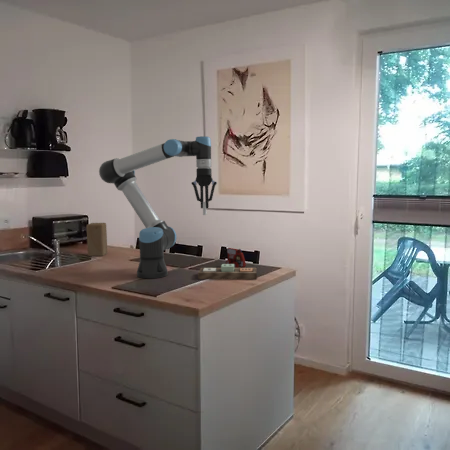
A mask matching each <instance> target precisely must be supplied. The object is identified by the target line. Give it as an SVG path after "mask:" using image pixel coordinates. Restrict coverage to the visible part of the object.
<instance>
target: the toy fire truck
mask: <svg viewBox="0 0 450 450" xmlns="http://www.w3.org/2000/svg"><path fill="white" fill-rule="evenodd" d="M226 252H227V260H226V261H225V263H224V264H234V268H246V266H247V264H246V263H247V262H246V259H245V255H244V253H243V252H242V249H241V248H239V249H237V248H234V247H233V248H232V247H228V248H227V249H226Z"/></svg>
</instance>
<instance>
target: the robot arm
mask: <svg viewBox="0 0 450 450" xmlns="http://www.w3.org/2000/svg"><path fill="white" fill-rule="evenodd" d="M174 157H179V158H183V157H196V159H195V160H196V161H195V162H196V165H195V166H196V169H195V170H196V171H195V172H196V178H195V180H194V181H192V182H191V185H192V187H193V190H194V194H195V198H196V200H197V201H198V202H200V209H202V215H203V216H207V215H208V214H207V213H208V212H207V209H209V206H210V205H209V204H210V203H209V202H211V201H212V200H213V197H214V192H215V188H216V186H217V184H218V182H217V181H215V180H213V177H212V173H213V172H212V168H211V167H212V139H211V137H209V136H196V137H195V140H189V141H187V140H185V141H184V140H179V139H174V138H171V139H167V140H166V141H165V142H164V143H161V144H158V145H155V146H153V147H150V148H147V149H144V150H142V151H139V152H136V153H135V152H134V153H133V154H130V155H127V156H124V157H121V158H117V157H116V158H113V159H109V160H106V161H104V162H103V163H102V164H100V167H99V168H98V169H99V170H98V173H99V177H100V178H101V180H102V181H103V182H105V183H107V184H113V185H114V186H115V188H116V189H117V191H121V192H122V194H123V195H124V196H125V198H126V199H127V201H128V202H129V204H130V205H131V207H132V209H133V210H134V211H135V213H136V215H137V217H138V219H139V220H140V221H141V222H142V225H144V227H145V228H142V229H141V230H140V231H139V232H138V233H139V236H138V241H139V243H138V244H139V263H138V267H137V271H136V276H137V277H138V278H139V279H140V278H141V279H157V278H163V277H166V276H168V275H169V273H168V272H169V271H168V267H167V265H166V261H165V259H164V258H165V257H164V251H167V250H169V249H170V248H172V247H174V245H175V244H176V241H177V233H176V231H175V229H174V228H173V227H171V226H169V225H168V224H167V223H166V221H165V220H163V219H160V217H159V216H158V214H157V213H156V211H155V210H154V208H153V206H152V205H151V204H150V202H149V201H148V198H147V197H146V195H145V194H144V193H143V191H142V190H141V188H140V186H139V185H138V183H137V177H136V170H139V169H140V170H141V169H142V168H145V167H148V166H150V165H154V164H156V163H158V162H159V163H160V162H162V161H165V160H168V159H171V158H174ZM197 185H198V186H199V190H198V188H197ZM210 185H212V186H211V189H210V190H211V191H210V193H209V186H210ZM204 187H205V188H204ZM204 189H205V190H204ZM199 191H200V192H199ZM204 192H205V193H204ZM199 194H200V195H199ZM204 194H205V201H204ZM209 194H210V195H209Z"/></svg>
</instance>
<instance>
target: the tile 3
mask: <svg viewBox="0 0 450 450" xmlns="http://www.w3.org/2000/svg"><path fill="white" fill-rule="evenodd" d="M239 268H240V272H253V268H254V267H244V268H241V267H239Z"/></svg>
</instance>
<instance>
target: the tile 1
mask: <svg viewBox="0 0 450 450" xmlns="http://www.w3.org/2000/svg"><path fill="white" fill-rule="evenodd" d="M203 268H204V269H203V272H216V268H217V267H203Z"/></svg>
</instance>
